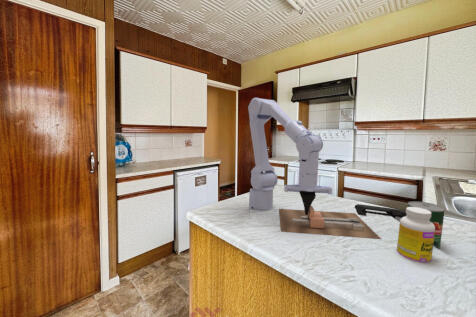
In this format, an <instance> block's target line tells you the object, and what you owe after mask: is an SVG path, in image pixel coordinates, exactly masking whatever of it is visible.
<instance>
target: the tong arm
mask: <svg viewBox="0 0 476 317" xmlns="http://www.w3.org/2000/svg"><path fill="white" fill-rule="evenodd" d="M323 218H324V221H337V222H352V223H360V221H359V220H358V219H357V218H347V219H343V218H327V217H323ZM301 219H307V220H310V218H309V216H301Z"/></svg>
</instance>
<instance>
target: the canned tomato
mask: <svg viewBox="0 0 476 317" xmlns="http://www.w3.org/2000/svg"><path fill="white" fill-rule="evenodd" d="M407 207H418V208H423V209H426V210H429V211H430V212H431V218H430V219H429V221H430V222H432V223H433V224H434V226H435V234H434V242H433V247H435V248H437V250H440V249H441V243H442V236H443V234H442V233H443V227H444V226H443V225H444V220H445V219H444V218H445V210H446V208H444V207H443V206H441V205H438V204H435V203H430V202H426V201H408V202H407Z"/></svg>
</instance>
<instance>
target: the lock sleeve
mask: <svg viewBox="0 0 476 317" xmlns="http://www.w3.org/2000/svg"><path fill="white" fill-rule="evenodd" d="M318 211H319V210H315V208H314V207H313V205H311V206H310V208H309V212H308V215H307V216H309V218H310V227H312V228H324V218H323V217H322V215H321V213H320V212H318Z"/></svg>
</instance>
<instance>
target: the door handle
mask: <svg viewBox="0 0 476 317" xmlns="http://www.w3.org/2000/svg"><path fill="white" fill-rule="evenodd" d="M353 208H354V209H355V211H356V213H357V214H356V215H357V216H358V215H359V216H362V217H364V216H365V217H367V214H373V215H379V216H386V217H392V218H393V219H394V220H396V221H397V222H399V223H400V219H401V218H402V217H405V216H407V214H406V209H399V208H392V207H383V206H376V205H367V204H360V203H358V204H355V205H354V207H353Z"/></svg>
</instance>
